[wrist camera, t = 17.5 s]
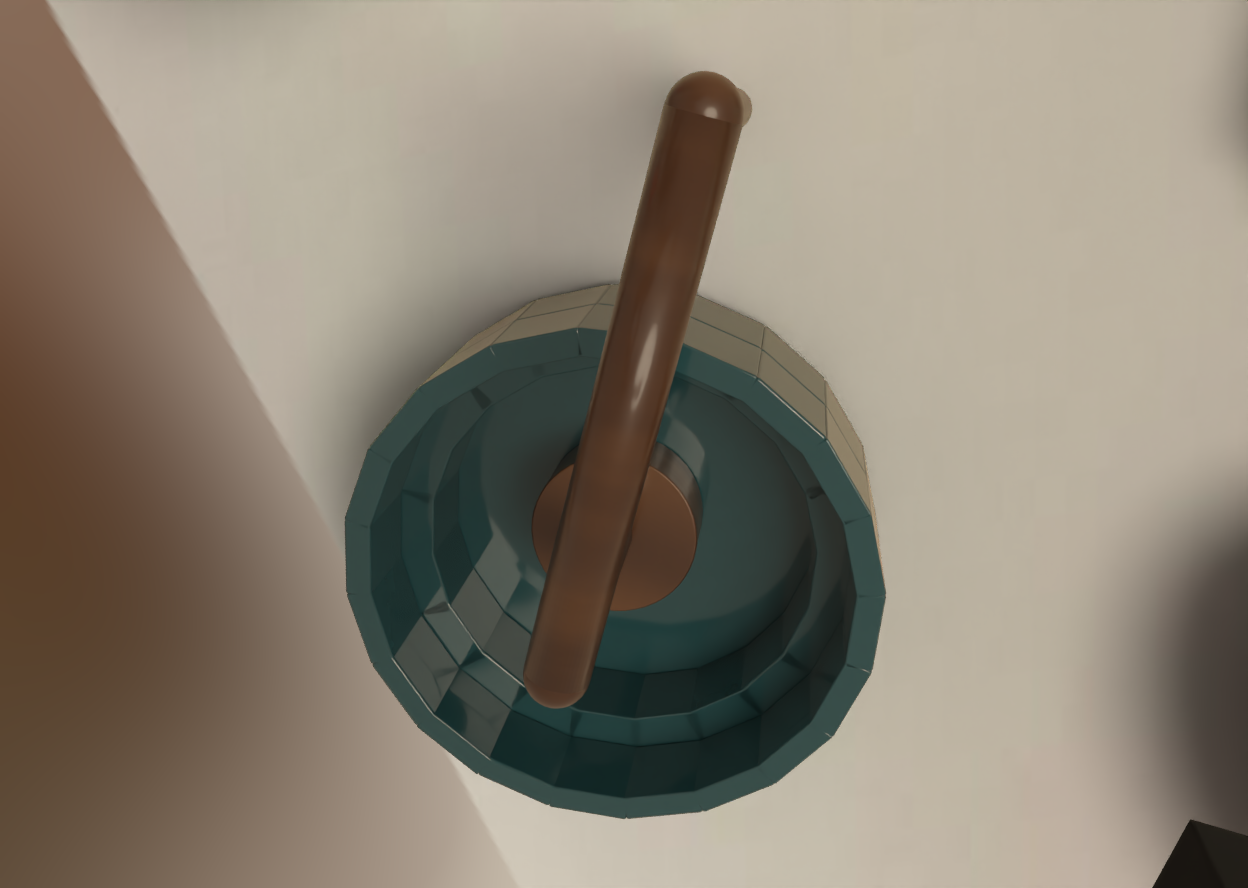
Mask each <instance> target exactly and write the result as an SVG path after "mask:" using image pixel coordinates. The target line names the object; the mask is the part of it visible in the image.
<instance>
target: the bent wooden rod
mask: <svg viewBox="0 0 1248 888" xmlns="http://www.w3.org/2000/svg"><path fill="white" fill-rule="evenodd" d="M751 113H752V104H751V100H750V98H749V97H748V95H747V94H746V93H745V92H744V91H743V90H741V89H739V88H736V86H735V85H734V84H733V83H732V82H731V81H730V80H729V79H727V78H726V77H724V76H722V75H720V74H717V73H715V72H709V71H700V72H695V73H691V74H689V75H687V76H685V77H683V78H682V79H680V80H679V81H678V82H677V83H676V84H675V85H674V86H673V87H672V88H671V90H670V92H669V93H668V95H667V98H666V100H665V103H664V106H663V110H662V114H661V118H660V122H659V126H658V130H657V134H656V138H655V142H654V146H653V150H652V154H651V158H650V162H649V166H648V170H647V174H646V178H645V182H644V186H643V191H642V195H641V199H640V203H639V207H638V211H637V215H636V219H635V223H634V227H633V231H632V235H631V239H630V243H629V247H628V251H627V255H626V259H625V263H624V267H623V271H622V275H621V279H620V283H619V287H618V291H617V295H616V299H615V303H614V307H613V311H612V315H611V319H610V323H609V327H608V331H607V335H606V339H605V343H604V347H603V351H602V355H601V359H600V363H599V367H598V371H597V375H596V379H595V383H594V387H593V391H592V395H591V399H590V403H589V407H588V411H587V415H586V419H585V423H584V427H583V431H582V435H581V439H580V443H579V446H577V447H575V448H574V449H573V450H572V451H571V452H569V453H568V454H567V455H566V456H565V457H564V459H563V460H562V461H561V462H560V464H559V465H558V467H557V468H556V470H555V471H554V473H553V474H552V476H551V477H550V479H549V481H548V482H547V484H546V485H545V487H544V488H543V490H542V492H541V493H540V495H539V497H538V500H537V502H536V505H535V508H534V511H533V517H532V540H533V545H534V549H535V552H536V555H537V557H538V560H539V562H540V564H541V566H542V567H543V569H544V571H545V572H546V574H547V575H546V579H545V583H544V587H543V591H542V595H541V599H540V603H539V607H538V611H537V615H536V619H535V623H534V627H533V631H532V635H531V639H530V643H529V647H528V651H527V655H526V659H525V663H524V669H523V679H524V684H525V687H526V690H527V692H528V693H529V694H530V696H531V697H532V698H533V699H534V700H535V701H536V702H538V703H539V704H541V705H543V706H545V707H548V708H554V709H558V708H565V707H568V706H570V705H572V704H574V703H576V702H577V701H578V700H579V699H580V698H581V697H583V695H584V694H585V692H586V690H587V689H588V686H589V684H590V680H591V676H592V673H593V669H594V666H595V662H596V658H597V655H598V651H599V647H600V644H601V640H602V636H603V633H604V629H605V625H606V622H607V618H608V614H609V611H610V610H611V611H628V610H635V609H639V608H643V607H647V606H649V605H651V604H654V603H656V602H658V601H660V600H662V599H663V598H665V597H666V596H668V595H669V594H670V593H671V592H673V591H674V590H675V589H676V588H677V587H678V586H679V585H680V584H681V582H682V581H683V580H684V578H685V577H686V575H687V573H688V572H689V570H690V568H691V565H692V563H693V560H694V557H695V552H696V548H697V543H698V538H699V534H700V529H701V524H702V516H703V507H702V499H701V494H700V490H699V487H698V484H697V482H696V480H695V478H694V476H693V474H692V473H691V471H690V470H689V468H688V467H687V465H686V464H685V463H684V462H683V461H682V460H681V459H680V457H678V456H677V455H676V454H675V453H674V452H673V451H671V450H670V449H668V448H667V447H665V446H664V445H662V444H660V443H658V442H656V440H657V436H658V432H659V429H660V425H661V421H662V418H663V414H664V410H665V407H666V403H667V399H668V396H669V392H670V389H671V385H672V381H673V378H674V374H675V370H676V367H677V363H678V359H679V356H680V352H681V348H682V345H683V341H684V338H685V334H686V330H687V327H688V323H689V319H690V316H691V312H692V308H693V305H694V301H695V297H696V294H697V290H698V286H699V283H700V279H701V276H702V272H703V268H704V265H705V261H706V257H707V254H708V250H709V246H710V243H711V239H712V235H713V232H714V228H715V225H716V221H717V217H718V214H719V210H720V206H721V203H722V199H723V195H724V192H725V188H726V184H727V181H728V177H729V174H730V170H731V166H732V163H733V159H734V155H735V152H736V148H737V144H738V141H739V137H740V133H741V130H742V127H743V126H744V125H745V124H746V123H747V122H748V121H749V119H750V116H751Z"/></svg>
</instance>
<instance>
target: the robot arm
mask: <svg viewBox="0 0 1248 888" xmlns="http://www.w3.org/2000/svg"><path fill="white" fill-rule="evenodd" d="M1153 888H1248V836H1245V835H1242V834H1239V833H1235V832H1232V831H1228V830H1225V829H1222V828H1218V827H1215V826H1211V825H1208V824H1204V823H1201V822H1198V821H1194V820H1191V819H1190V821H1189V823H1188V824H1187V826H1186V828H1185V830H1184V832H1183V833H1182V835H1181V837H1180V839H1179V841H1178V842H1177V844H1176V846H1175V848H1174V850H1173V851H1172V853H1171V855H1170V857H1169V859H1168V860H1167V862H1166V864H1165V866H1164V868H1163V869H1162V871H1161V873H1160V875H1159V877H1158V879H1157V880H1156V882H1155V884H1154V886H1153Z"/></svg>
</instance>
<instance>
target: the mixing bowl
mask: <svg viewBox="0 0 1248 888" xmlns="http://www.w3.org/2000/svg"><path fill="white" fill-rule="evenodd" d="M618 287H619V284H613V285H610V284H608V285H603V286H598V287H593V288H589V289H584V290H579V291H574V292H570V293H565V294H560V295H555V296H551V297H546V298H541V299H538V300H534V301H532V302H531V303H529V304H527V305H526V306H524V307H522V308H521V309H519V310H517V311H516V312H514V313H512V314H511V315H509V316H507V317H506V318H504V319H502V320H501V321H499V322H497V323H496V324H494V325H492V326H490V327H489V328H487V329H485V330H484V331H482V332H480V333H479V334H477V335H475V336H474V337H473V338H472V339H471V340H470V341H468V342H467V343H466V344H465V345H464V346H463V347H462V348H461V349H460V350H459V351H458V352H456V353H455V354H454V355H453V356H452V357H451V358H450V359H449V360H448V361H447V362H445V363H444V364H443V365H442V366H441V367H440V368H439V369H438V370H437V371H436V372H435V373H433V374H432V375H431V376H430V377H429V378H428V379H427V380H426V381H425V382H424V383H423V384H421V385H420V386H419V387H418V388H417V389H416V390H415V392H414V393H413V394H412V395H411V397H410V398H409V399H408V400H407V401H406V403H405V404H404V405H403V406H402V408H401V409H400V410H399V411H398V412H397V414H396V415H395V416H394V417H393V419H392V420H391V421H390V422H389V423H388V425H387V426H386V427H385V428H384V430H383V431H382V432H381V433H380V434H379V436H378V437H377V438H376V439H375V441H374V442H373V443H372V444H371V445H370V448H369V449H368V451H367V454H366V457H365V460H364V463H363V466H362V469H361V471H360V474H359V477H358V480H357V483H356V486H355V489H354V492H353V495H352V498H351V501H350V504H349V507H348V510H347V513H346V516H345V549H346V591H347V593H348V594H347V596H348V599H349V602H350V605H351V607H352V610H353V613H354V616H355V619H356V622H357V625H358V627H359V630H360V633H361V636H362V638H363V641H364V644H365V647H366V650H367V653H368V655H369V658H370V661H371V663H373V667H374V668H375V670H376V671H377V672H378V674H379V675H380V676H381V678H382V679H383V680H384V682H385V683H386V685H387V686H388V687H389V689H390V690H391V691H392V693H393V694H394V695H395V697H396V698H397V699H398V701H399V702H400V704H401V705H402V706H403V708H404V709H405V711H406V712H407V713H408V715H409V716H410V717H411V719H412V720H413V721H414V723H415V724H416V725H417V727H418V728H419V729H421V730H422V731H423V732H425V733H426V734H427V735H428V736H429V737H431V738H432V739H433V740H435V741H436V742H437V743H438V744H439V745H441V746H442V747H443V748H444V749H446V750H447V751H448V752H449V753H451V754H452V755H453V756H454V757H456V758H457V759H458V760H459V761H461V762H462V763H463V764H465V765H466V766H467V767H468V768H470V769H471V770H472V771H473V772H475V773H476V774H478V773H479V775H481V776H483V777H485V778H487V779H490V780H492V781H494V782H496V783H499V784H501V785H503V786H505V787H508V788H510V789H512V790H514V791H517V792H519V793H521V794H523V795H526V796H528V797H530V798H532V799H535V800H537V801H539V802H541V803H544V804H546V805H550V806H551V807H556V808H562V809H568V810H574V811H580V812H586V813H592V814H597V815H603V816H609V817H615V818H621V819H626V817H627V818H628V819H632V818H642V817H653V816H664V815H675V814H685V813H696V812H702V811H707V810H710V809H713V808H715V807H718V806H720V805H723V804H725V803H728V802H730V801H733V800H735V799H738V798H741V797H743V796H746V795H748V794H751V793H753V792H756V791H758V790H761V789H764V788H766V787H769V786H771V785H773V784H775V783H777V782H778V781H779V780H780V779H782V778H783V777H784V776H785V775H786V774H788V773H789V772H790V771H791V770H793V769H794V768H795V767H796V766H797V765H799V764H800V763H801V762H802V761H804V760H805V759H806V758H807V757H808V756H810V755H811V754H812V753H813V752H815V751H816V750H817V749H818V748H819V747H821V746H822V745H823V744H824V743H826V742H827V741H828V740H829V739H831V738H832V736H834V734H835V733H836V731H837V729H838V728H839V726H840V724H841V723H842V721H843V719H844V718H845V716H846V714H847V713H848V711H849V709H850V708H851V706H852V704H853V703H854V701H855V700H856V698H857V696H858V695H859V693H860V691H861V690H862V688H863V686H864V685H865V683H866V681H867V680H868V678H869V676H870V675H871V671H872V669H873V664H874V659H875V654H876V648H877V643H878V637H879V632H880V626H881V621H882V616H883V610H884V605H885V599H886V589H885V582H884V574H883V567H882V560H881V552H880V545H879V537H878V530H877V522H876V515H875V509H874V504H873V498H872V493H871V487H870V481H869V476H868V470H867V465H866V459H865V454H864V448H863V445H862V443H861V441H860V439H859V437H858V436H857V434H856V432H855V430H854V428H853V427H852V425H851V423H850V421H849V420H848V418H847V416H846V414H845V413H844V411H843V409H842V407H841V406H840V404H839V402H838V400H837V399H836V397H835V395H834V393H833V392H832V390H831V388H830V386H829V385H828V383H827V381H826V380H824V377H823V376H822V375H821V374H820V373H818V372H817V371H816V370H815V369H814V368H813V367H812V366H811V365H810V364H808V363H807V362H806V361H805V360H804V359H803V358H802V357H801V356H799V355H798V354H797V353H796V352H795V351H794V350H793V349H792V348H790V347H789V346H788V345H787V344H786V343H785V342H784V341H783V340H782V339H780V338H779V337H778V336H777V335H776V334H775V333H774V332H773V331H771V330H770V329H769V328H768V327H766V326H765V327H764V325H763V324H761V323H759V322H757V321H755V320H752V319H750V318H748V317H746V316H743V315H741V314H739V313H737V312H734V311H732V310H730V309H728V308H725V307H723V306H721V305H719V304H716V303H714V302H712V301H710V300H707V299H705V298H703V297H701V296H698V295H696V297H695V301H694V305H693V308H692V312H691V316H690V319H689V323H688V327H687V330H686V334H685V338H684V341H683V345H682V348H681V352H680V356H679V359H678V363H677V367H676V370H675V374H674V378H673V381H672V385H671V389H670V392H669V396H668V399H667V403H666V407H665V410H664V414H663V418H662V421H661V425H660V429H659V432H658V436H657V440H656V442H658V443H660V444H662V445H664V446H665V447H667V448H668V449H670V450H671V451H673V452H674V453H675V454H676V455H677V456H678V457H680V459H681V460H682V461H683V462H684V463H685V464H686V465H687V467H688V468H689V470H690V471H691V473H692V474H693V476H694V478H695V480H696V482H697V484H698V487H699V490H700V494H701V499H702V507H703V516H702V524H701V529H700V534H699V538H698V543H697V548H696V552H695V557H694V560H693V563H692V565H691V568H690V570H689V572H688V573H687V575H686V577H685V578H684V580H683V581H682V582H681V584H680V585H679V586H678V587H677V588H676V589H675V590H674V591H673V592H671V593H670V594H669V595H668V596H666V597H665V598H663V599H662V600H660V601H658V602H656V603H654V604H651V605H649V606H647V607H643V608H639V609H635V610H628V611H611V610H610V611H609V614H608V618H607V622H606V625H605V629H604V633H603V636H602V640H601V644H600V647H599V651H598V655H597V658H596V662H595V666H594V669H593V673H592V676H591V680H590V684H589V686H588V689H587V690H586V692H585V694H584V695H583V697H581V698H580V699H579V700H578V701H577V702H576V703H574V704H572V705H570V706H568V707H565V708H558V709H554V708H548V707H545V706H543V705H541V704H539V703H538V702H536V701H535V700H534V699H533V698H532V697H531V696H530V694H529V693H528V692H527V690H526V687H525V684H524V679H523V669H524V663H525V659H526V655H527V651H528V647H529V643H530V639H531V635H532V631H533V627H534V623H535V619H536V615H537V611H538V607H539V603H540V599H541V595H542V591H543V587H544V583H545V579H546V575H547V574H546V572H545V571H544V569H543V567H542V566H541V564H540V562H539V560H538V557H537V555H536V552H535V549H534V545H533V540H532V517H533V511H534V508H535V505H536V502H537V500H538V497H539V495H540V493H541V492H542V490H543V488H544V487H545V485H546V484H547V482H548V481H549V479H550V477H551V476H552V474H553V473H554V471H555V470H556V468H557V467H558V465H559V464H560V462H561V461H562V460H563V459H564V457H565V456H566V455H567V454H568V453H569V452H571V451H572V450H573V449H574V448H575V447H577V446H579V443H580V439H581V435H582V431H583V427H584V423H585V419H586V415H587V411H588V407H589V403H590V399H591V395H592V391H593V387H594V383H595V379H596V375H597V371H598V367H599V363H600V359H601V355H602V351H603V347H604V343H605V339H606V335H607V331H608V327H609V323H610V319H611V315H612V311H613V307H614V303H615V299H616V295H617V291H618Z"/></svg>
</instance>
